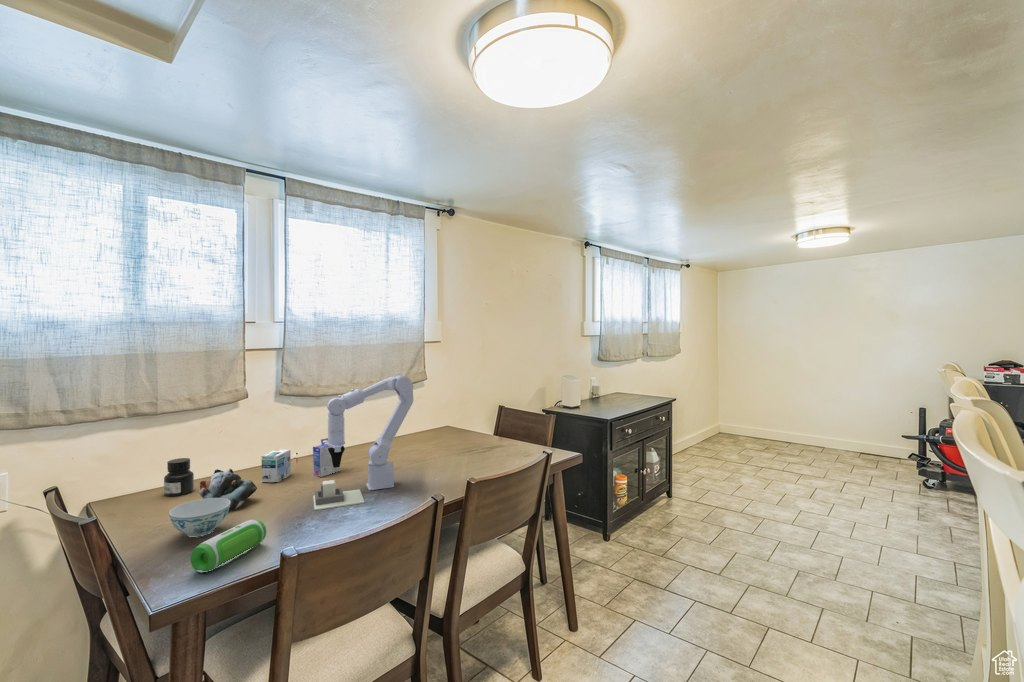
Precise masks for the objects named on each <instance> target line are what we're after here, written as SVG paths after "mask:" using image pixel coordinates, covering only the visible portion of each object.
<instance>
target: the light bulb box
mask: <svg viewBox="0 0 1024 682" xmlns="http://www.w3.org/2000/svg"><path fill="white" fill-rule="evenodd" d="M291 458H292V457H291V449H278V448H277V449H273V450H271V451H270V452H268V453H267V452H266V453H264V454H263V455H261V483H262V482H278V483H279V482H281V481H283V480H285V479H286V478H288V477H290V476H291V475H290V474H291V470H292V469H291V467H292V465H291V461H292V459H291ZM289 475H290V476H289ZM287 476H288V477H287ZM284 478H285V479H284ZM282 479H283V480H282Z"/></svg>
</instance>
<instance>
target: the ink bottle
mask: <svg viewBox="0 0 1024 682" xmlns="http://www.w3.org/2000/svg"><path fill="white" fill-rule="evenodd" d="M166 469H167V472H168V473H167V474H166V475H165V476H164V477H163V494H164V496H167V497H177V496H183V495H186V494H189V493H192V492H193V491H194V489H195V488H194V487H195V485H194V484H195V481H194V480H195V479H194V477H195V476H194V475H195V473H194V472H193V471H191V470H190V469H191V459H190V458H188V457H186V458H185V457H183V458H182V457H180V458H174V459H170V460H168V461H167V467H166Z"/></svg>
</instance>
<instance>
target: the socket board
mask: <svg viewBox="0 0 1024 682" xmlns="http://www.w3.org/2000/svg"><path fill="white" fill-rule="evenodd" d="M312 498H313V510H314V511H315V512H316V511H321V510H329V509H335V508H339V507H340V508H342V507H348V506H354V505H355V506H356V505H362V504H365V499H364V497H363V494H362V491H361V489H353V490H344V491H343V487H337V488H336V487H335V496H331V497H324V498H321V490H315V491H314V495H313V496H312Z"/></svg>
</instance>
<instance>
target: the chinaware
mask: <svg viewBox="0 0 1024 682" xmlns="http://www.w3.org/2000/svg"><path fill="white" fill-rule="evenodd" d="M229 508H230V500H228V499H225V498H206V499H203V498H200V499H196V500H191V501H188V502H187V501H186V502H184V503H181V504H179V505H176V506H174V507H172V509H171V508H170V510H169V512H168V517H169V520H170V522H171V524H172V525H173V527H175V528H176V530H178V531H180V532H181V533H183V534H186V537H188V536H201V535H205V534H208V533H210V532H212V531H213V530H214V531H215V528H217V527H219V526H220V524H221V523H222V522H223V521H224V520H225V519H226V516H227V515H228V513H229V512H230V511H229ZM214 531H213V532H214ZM213 532H212V533H213Z"/></svg>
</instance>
